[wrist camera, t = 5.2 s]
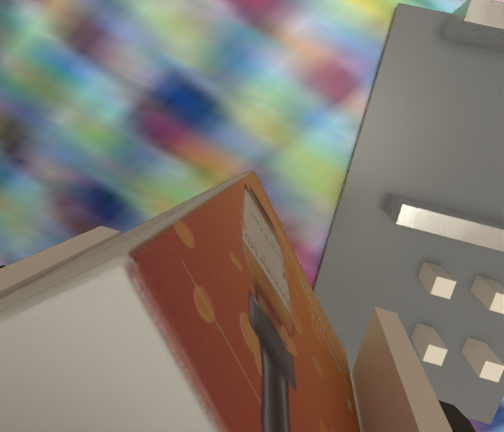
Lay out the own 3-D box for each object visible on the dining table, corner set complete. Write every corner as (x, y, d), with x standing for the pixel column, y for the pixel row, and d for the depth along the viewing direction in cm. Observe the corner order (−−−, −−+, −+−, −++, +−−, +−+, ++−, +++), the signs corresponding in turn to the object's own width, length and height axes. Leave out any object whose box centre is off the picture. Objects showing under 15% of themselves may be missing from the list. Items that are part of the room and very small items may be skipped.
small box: (348, 353, 15) (443, 822, 5) (220, 400, 16) (78, 860, 6) (255, 163, 14) (125, 246, 4) (126, 227, 15) (-244, 426, 5)
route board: (292, 357, 31) (289, 389, 27) (395, 8, 25) (411, -15, 21) (484, 415, 30) (510, 457, 26) (642, 59, 24) (706, 45, 20)
